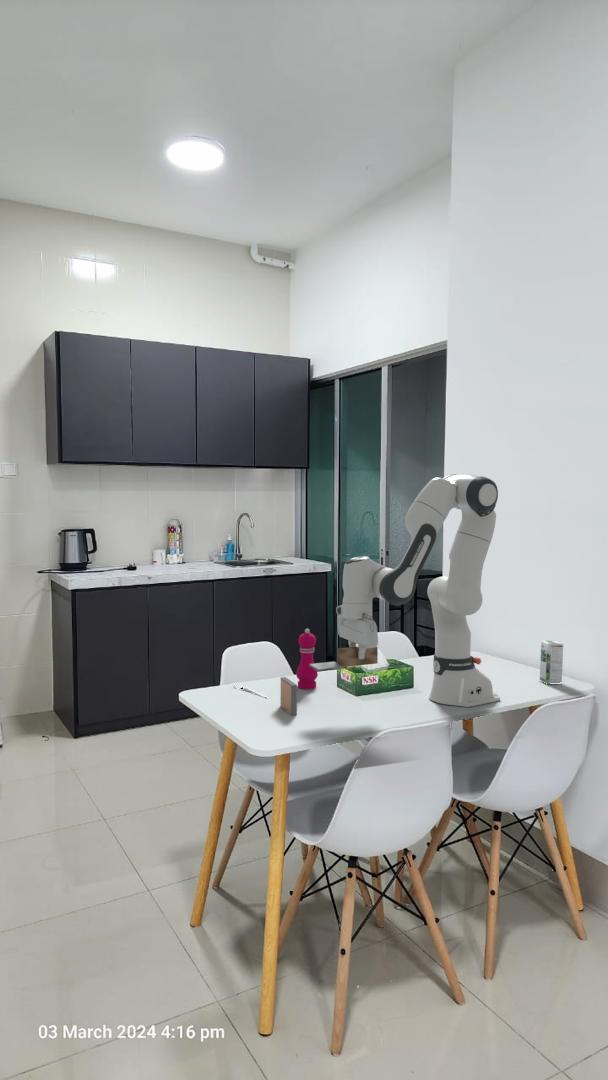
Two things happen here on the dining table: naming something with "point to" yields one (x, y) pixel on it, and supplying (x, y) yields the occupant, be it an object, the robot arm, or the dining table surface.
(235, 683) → the fork
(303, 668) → the pepper mill
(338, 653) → the wood block on plate
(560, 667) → the syrup box
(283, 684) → the tile
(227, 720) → the dining table surface
